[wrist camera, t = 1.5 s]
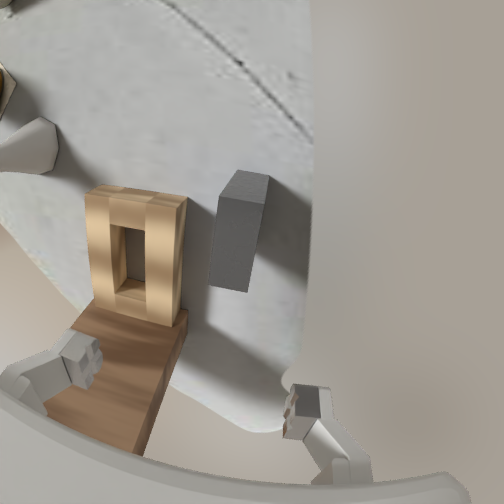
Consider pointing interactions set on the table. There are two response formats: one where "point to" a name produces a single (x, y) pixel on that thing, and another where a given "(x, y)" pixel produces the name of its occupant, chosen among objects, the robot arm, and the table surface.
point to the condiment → (5, 88)
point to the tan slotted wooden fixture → (128, 317)
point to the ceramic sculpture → (4, 3)
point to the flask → (30, 148)
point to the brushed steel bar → (237, 230)
